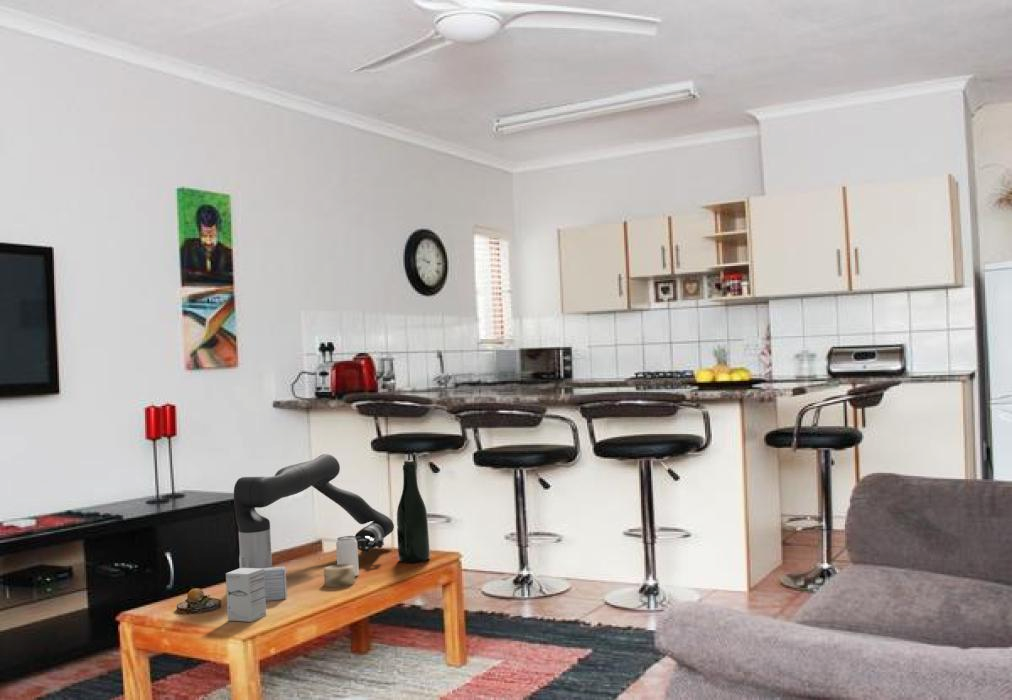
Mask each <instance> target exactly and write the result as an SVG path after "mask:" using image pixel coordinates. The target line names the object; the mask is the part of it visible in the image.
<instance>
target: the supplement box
mask: <svg viewBox="0 0 1012 700" xmlns="http://www.w3.org/2000/svg"><path fill="white" fill-rule="evenodd" d="M225 580H226V581H225V582H226V583H225V586H226V608H227V611H226V612H227V621H228V622H229V621H230V622H231V621H233V622H234V621H235V622H248V623H251V622H254V621H257V620H258V619H260V618H263V617H265V616H266V615H267V612H266V611H267V608H266V606H267V605H266V602H267V601H265V578H264V569H260V568H240V567H239V568H237V569H234V570H231V571H229V572H226V573H225Z"/></svg>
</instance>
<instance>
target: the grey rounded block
mask: <svg viewBox="0 0 1012 700" xmlns="http://www.w3.org/2000/svg"><path fill="white" fill-rule="evenodd" d="M323 578H324V586H325V587H326V586H327V587H326V588H344V587H349V586H352V585H354V584H355V583H356V579H355V578H356V577H355V573H354V565H350V564H339V565H337V564H332V565H328V566H325V567H324V568H323Z"/></svg>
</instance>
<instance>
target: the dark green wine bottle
mask: <svg viewBox="0 0 1012 700" xmlns="http://www.w3.org/2000/svg"><path fill="white" fill-rule="evenodd" d="M402 471H403V472H402V473H403V476H402V477H403V482H402V483H403V485H402V492H401V495H400V498H399V503H398V505H397V510H396V530H397V531H396V534H397V537H396V538H397V556H398V558H397V559H398V560H399V561H400V562H401V563H406V564H407V563H410V564H413V563H421V562H425V561H427V560H429V559H430V558H431V549H430V535H429V524H428V523H429V522H428V521H429V520H428V514H427V513H428V512H427V507H426V504H425V502H424V499H423V497H422V495H421V492H420V489H419V486H418V481H417V480H418V478H417V466H416V463H415V460H413V459H412V460H411V459H409V460H408V459H407V460H404V462H403V465H402Z"/></svg>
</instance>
